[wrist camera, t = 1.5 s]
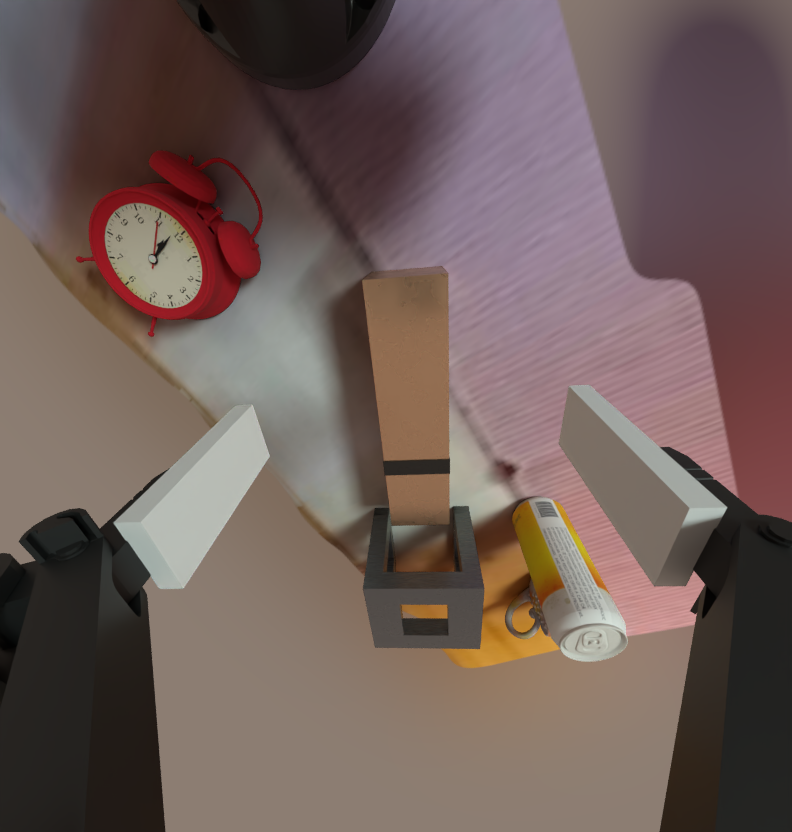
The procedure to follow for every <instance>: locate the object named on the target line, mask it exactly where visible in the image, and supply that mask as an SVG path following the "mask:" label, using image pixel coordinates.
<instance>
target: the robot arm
mask: <svg viewBox="0 0 792 832" xmlns="http://www.w3.org/2000/svg"><path fill="white" fill-rule="evenodd" d="M177 2H178V3H179V5H180V6H181V8H182V9H183V10H184V12H185V13H186V15H187V16H188V17H189V19H190V20H191V21H192V22H193V24H194V25H195V26H196V27H197V29H198V30H199V31H200V32H201V33H202V34H203V35H204V36H205V37H206V38H207V39H208V40H209V41H210V42H211V43H212V44H213V45H214V46H215V47H216V48H217V49H218V50H219V51H220V52H221V53H222V54H223V55H224V56H225V57H227V58H228V59H229V60H230V61H231V62H232V63H233V64H235V65H236V66H237V67H238V68H240V69H241V70H242V71H244V72H245V73H247V74H249V75H250V76H252V77H254V78H256V79H258V80H259V81H262V82H264V83H266V84H269V85H272V86H275V87H280V88H285V89H299V90H300V89H310V88H315V87H319V86H322V85H325V84H327V83H330V82H332V81H334V80H336V79H338V78H339V77H341V76H342V75H344V74H345V73H347V72H348V71H349V70H351V69H352V68H353V67H354V66H355V65H356V64H357V63H358V62H359V61H360V60H361V59H362V58H363V57H364V56H365V55H366V54H367V52H368V51H369V50H370V48H371V47H372V46H373V44H374V43H375V41H376V40H377V38H378V37H379V35H380V33H381V31H382V29H383V28H384V26H385V24H386V22H387V20H388V17H389V15H390V13H391V10H392V8H393V5H394V3H395V0H177ZM559 445H560V447H561V448H562V450H563V451H564V453H565V454H566V456H567V457H568V459H569V460H570V462H571V463H572V465H573V466H574V468H575V469H576V471H577V472H578V473H579V475H580V476H581V478H582V479H583V481H584V482H585V484H586V485H587V487H588V488H589V490H590V491H591V493H592V494H593V496H594V497H595V499H596V500H597V502H598V503H599V505H600V506H601V508H602V509H603V511H604V512H605V514H606V515H607V517H608V518H609V520H610V521H611V523H612V524H613V526H614V527H615V529H616V530H617V532H618V533H619V535H620V536H621V538H622V539H623V541H624V542H625V544H626V545H627V547H628V548H629V550H630V551H631V553H632V554H633V556H634V557H635V559H636V560H637V561H638V563H639V564H640V566H641V567H642V569H643V570H644V572H645V573H646V575H647V576H648V578H649V579H650V581H651V582H652V584H653V585H654V586H686V584H687V583H688V581H689V579H690V577H691V575H692V573H693V571H695V572H696V573H697V575H698V576H699V577H700V578H701V580H702V581H703V582H704V583H705V586H704V588H703V590H702V591H701V593H700V595H699V597H698V598H697V600H696V602H695V603H694V605H693V607H692V609H691V610H690V611H691V612H693V613H695V614H696V613H697V616H696V622H695V628H694V634H693V640H692V646H691V651H690V657H689V663H688V669H687V675H686V681H685V686H684V692H683V698H682V705H681V711H680V716H679V722H678V728H677V733H676V739H675V745H674V751H673V757H672V763H671V768H670V774H669V780H668V786H667V792H666V798H665V803H664V809H663V815H662V821H661V827H660V832H792V522H789V521H787V520H784V519H781V518H777V517H773V516H768V515H758V514H757V513H756V512H754V511H753V510H752V509H751V508H749V507H748V506H747V505H746V504H745V503H743V502H742V501H741V500H740V499H739V498H737V497H736V496H735V495H734V494H733V493H731V492H730V491H729V490H728V489H727V488H725V487H724V486H723V485H722V484H721V483H719V482H718V481H717V480H713V477H712V476H711V475H710V474H708V473H707V472H706V471H705V470H702V468H701V467H700V466H699V465H698V464H696V463H695V462H694V461H693V460H692V459H690V458H689V457H688V456H686V455H684V454H682V453H680V452H678V451H676V450H674V449H672V448H670V447H659V446H658V445H656V444H655V443H654V442H653V441H652V440H651V439H650V438H649V437H647V436H646V435H645V434H644V433H643V432H642V431H641V430H640V429H638V428H637V427H636V426H635V425H634V424H633V423H632V422H631V421H629V420H628V419H627V418H626V417H625V416H624V415H623V414H621V413H620V412H619V411H618V410H617V409H616V408H615V407H614V406H612V405H611V404H610V403H609V402H608V401H607V400H606V399H605V398H603V397H602V396H601V395H600V394H599V393H598V392H597V391H596V390H594V389H593V388H592V387H591V386H590V385H578V386H569V388H568V394H567V400H566V405H565V411H564V417H563V422H562V428H561V434H560V439H559ZM269 457H270V455H269V452H268V449H267V446H266V443H265V440H264V437H263V435H262V432H261V429H260V426H259V423H258V420H257V417H256V414H255V411H254V408H253V405H252V404H251V405H235V406H234V407H233V408H232V409H231V410H230V411H229V412H228V413H227V414H226V415H225V416H224V417H223V418H222V419H221V420H220V421H219V422H218V423H217V424H216V425H215V426H214V427H213V428H211V429H210V430H209V431H208V432H207V433H206V434H205V435H204V436H203V437H202V438H201V439H200V440H199V441H198V442H197V443H196V444H195V445H194V446H193V447H192V448H191V449H190V450H189V451H188V452H187V453H185V454H184V455H183V456H182V457H181V459H179V460H178V461H177V462H176V463H175V464H174V465H173V466H172V467H171V468H169V469H168V470H166V471H164V472H163V473H161V474H160V475H158V476H156V477H155V478H154V479H152V480H151V481H150V482H149V483H148V484H147V485H146V486H145V487H144V488H143V491H140V492H139V493H138V494H136V495H135V496H134V498H133V500H130V501H129V502H128V503H127V504H126V505H125V506H124V507H123V508H122V509H121V510H119V511H118V512H117V513H116V514H115V515H114V516H113V517H112V518H111V519H110V520H109V521H108V522H107V523H106V524H105V525H104V526H102V527H101V528H100V529H99V528H98V526H97V525H96V523H95V522H94V521H93V519H92V518H91V517H90V516H89V514H88V513H87V511H86V510H84V509H80V508H78V509H69V510H66V511H63V512H60V513H57V514H55V515H53V516H50V517H48V518H46V519H44V520H43V521H41V522H39V523H38V524H36V525H35V526H33V527H32V528H31V529H29V530H28V531H27V532H26V533H25V534H24V535H23V536H22V537H21V539H20V540H19V542H20V544H21V545H22V546H23V547H24V548H25V549H26V550H27V551H28V552H29V553H30V554H31V555H32V557H33V558H34V559H35V560H36V561H33V562H29V563H25V564H22V565H20V564H19V563H18V562H17V561H16V560H15V559H14V558H13V556H11V554H7V553H1V554H0V832H165V821H164V808H163V795H162V782H161V770H160V756H159V743H158V730H157V718H156V705H155V691H154V678H153V666H152V654H151V653H152V652H151V639H150V627H149V614H148V601H147V594H146V592H145V590H144V589H143V587H142V586H143V585H144V584H145V582H146V581H147V580H148V579H149V577H150V576H151V578H152V579H153V580H154V582H155V583H156V585H157V586H158V587H159V589H184V587H185V585H186V584H187V582H188V581H189V579H190V578H191V576H192V575H193V573H194V572H195V570H196V569H197V567H198V565H199V564H200V563H201V561H202V559H203V558H204V556H205V555H206V553H207V552H208V550H209V549H210V547H211V546H212V544H213V543H214V541H215V540H216V538H217V537H218V535H219V533H220V532H221V530H222V529H223V527H224V526H225V524H226V523H227V521H228V519H229V518H230V517H231V515H232V514H233V512H234V510H235V509H236V507H237V506H238V504H239V503H240V501H241V500H242V498H243V496H244V495H245V494H246V492H247V491H248V489H249V487H250V486H251V484H252V483H253V481H254V480H255V478H256V477H257V475H258V474H259V472H260V471H261V469H262V468H263V466H264V465H265V463H266V461H267V460H268V458H269Z"/></svg>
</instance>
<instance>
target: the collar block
mask: <svg viewBox="0 0 792 832" xmlns="http://www.w3.org/2000/svg"><path fill="white" fill-rule="evenodd" d="M363 591H364V596H365V601H366V606H367V611H368V616H369V620H370V625H371V630H372V635H373V640H374V645H375V647H377V648H378V647H379V648H451V649H480V643H481V629H482V614H483V600H484V584H483V579H482V574H481V569H480V564H479V558H478V553H477V548H476V543H475V538H474V533H473V528H472V522H471V517H470V512H469V507H468V506H457V507H454V572H396V559H395V551H394V543H393V535H392V527H391V519H390V511H389V508H375V511H374V518H373V525H372V532H371V538H370V545H369V552H368V558H367V565H366V572H365V579H364V585H363ZM401 604H407V605H447V608H448V619H426V618H416V619H413V618H403V614H402V606H401Z"/></svg>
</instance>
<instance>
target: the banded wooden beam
mask: <svg viewBox="0 0 792 832" xmlns="http://www.w3.org/2000/svg"><path fill="white" fill-rule="evenodd" d="M362 283H363V292H364V300H365V308H366V317H367V325H368V333H369V342H370V350H371V358H372V366H373V375H374V383H375V391H376V400H377V408H378V416H379V425H380V433H381V441H382V449H383V458H384V461H383V464H384V472H385V476H386V483H387V491H388V499H389V508H390V516H391V524H392V526H400V525H449V474H450V458H449V331H448V272H447V271H446V270H445V269H444V268H443V266H437V267H425V268H413V269H401V270H389V271H377V272H371V273H370V274H369V275H368V276H366V277H365V278H364V279H363V280H362Z"/></svg>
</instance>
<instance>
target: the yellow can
mask: <svg viewBox="0 0 792 832" xmlns="http://www.w3.org/2000/svg"><path fill="white" fill-rule="evenodd" d="M512 522H513V525H514V528H515V531H516V534H517V537H518V540H519V543H520V546H521V549H522V552H523V555H524V558H525V561H526V564H527V567H528V570H529V573H530V576H531V579H532V582H533V585H534V588H535V591H536V594H537V597H538V600H539V603H540V606H541V608H542V611H543V614H544V617H545V620H546V623H547V626H548V629H549V632H550V635H551V638H552V639H553V641H554V642H555V643H556V644H557V645H558V646H559V648H560V650H561V652H562V653H563V654H564V655H565V656H567V657H569V658H571V659H574V660H578V661H599V660H604V659H608V658H611V657H613V656H615V655H617V654H619V653H620V652H622V651H623V650H624V649H625V647H626V646H627V643H628V639H627V636H626V626H625V622H624V620H623V618H622V616H621V614H620V612H619V611H618V609H617V607H616V605H615V603H614V601H613V599H612V598H611V596H610V594H609V592H608V590H607V588H606V586H605V585H604V583H603V581H602V579H601V577H600V575H599V573H598V572H597V570H596V568H595V566H594V564H593V562H592V561H591V559H590V557H589V555H588V553H587V551H586V549H585V548H584V546H583V544H582V542H581V540H580V538H579V536H578V535H577V533H576V531H575V529H574V527H573V525H572V523H571V522H570V520H569V518H568V516H567V514H566V512H565V511H564V509H563V507H562V506H561V504H559V503H558V502H556V501H554V500H552V499H549V498H546V497H532V498H529V499H526V500H525V501H523V502H521V503H520V504H519V505H518V507H517V508H516V510H515V512H514V513H513V516H512Z"/></svg>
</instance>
